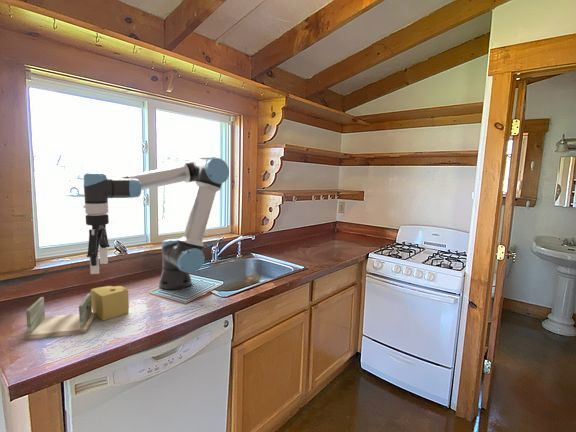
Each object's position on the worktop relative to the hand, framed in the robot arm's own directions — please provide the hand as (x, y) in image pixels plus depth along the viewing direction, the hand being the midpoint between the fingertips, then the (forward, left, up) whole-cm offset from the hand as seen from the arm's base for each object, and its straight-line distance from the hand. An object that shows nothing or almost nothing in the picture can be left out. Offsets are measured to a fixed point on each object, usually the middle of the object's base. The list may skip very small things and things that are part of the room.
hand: (99, 268), depth 127 cm
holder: (+11, +10, -18) cm, 23 cm away
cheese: (-3, +2, -18) cm, 19 cm away
